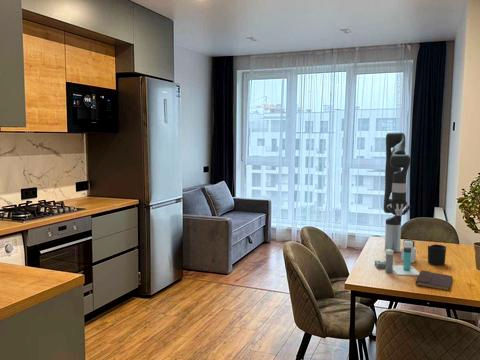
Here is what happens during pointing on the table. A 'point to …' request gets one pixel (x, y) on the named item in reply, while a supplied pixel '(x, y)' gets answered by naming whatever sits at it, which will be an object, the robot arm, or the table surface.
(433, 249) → the pen holder
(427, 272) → the notebook
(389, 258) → the grey marker
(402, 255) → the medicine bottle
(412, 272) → the sheet
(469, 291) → the table surface
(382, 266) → the button housing
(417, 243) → the table surface
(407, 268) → the marker
